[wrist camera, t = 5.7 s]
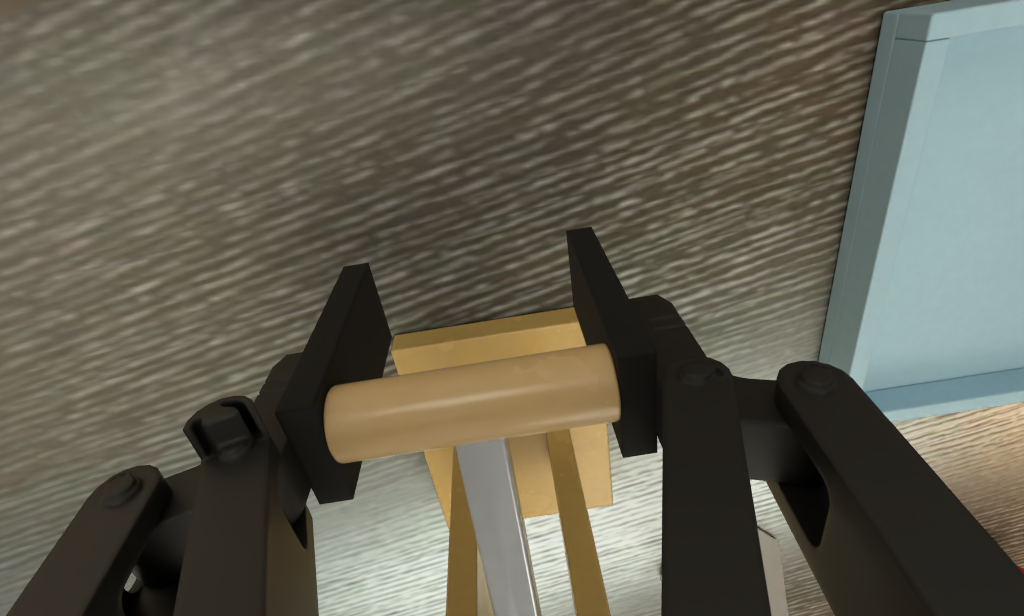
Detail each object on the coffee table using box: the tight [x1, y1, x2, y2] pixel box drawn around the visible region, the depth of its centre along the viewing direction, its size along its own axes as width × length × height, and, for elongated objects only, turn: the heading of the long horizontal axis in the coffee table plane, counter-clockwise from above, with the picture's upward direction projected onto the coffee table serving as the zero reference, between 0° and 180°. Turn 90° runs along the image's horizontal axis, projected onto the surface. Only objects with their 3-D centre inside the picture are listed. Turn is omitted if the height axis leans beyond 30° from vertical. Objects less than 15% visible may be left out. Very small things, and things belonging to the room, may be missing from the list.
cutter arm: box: [323, 343, 621, 616], centre depth 14 cm, size 13×6×2 cm, turn 8°
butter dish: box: [818, 0, 1024, 422], centre depth 22 cm, size 18×14×2 cm
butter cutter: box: [391, 307, 613, 616], centre depth 20 cm, size 12×9×15 cm
